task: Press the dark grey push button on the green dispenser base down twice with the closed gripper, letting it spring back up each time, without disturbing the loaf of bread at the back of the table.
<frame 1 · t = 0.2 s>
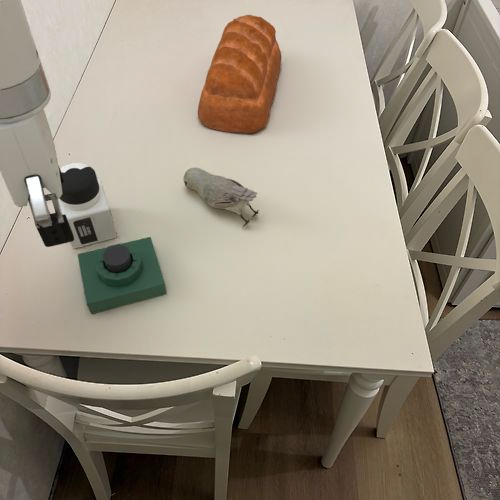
hand: (55, 212, 58), 23 cm above the table, tool pointing down, fingers open, 9 cm apart
dark grey push button: (117, 258, 75), point 6 cm above the table, slide at 0.1 cm
bread: (241, 91, 113), on the table
container: (91, 228, 86), on the table
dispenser: (123, 279, 79), on the table
decorative bird: (219, 206, 90), on the table
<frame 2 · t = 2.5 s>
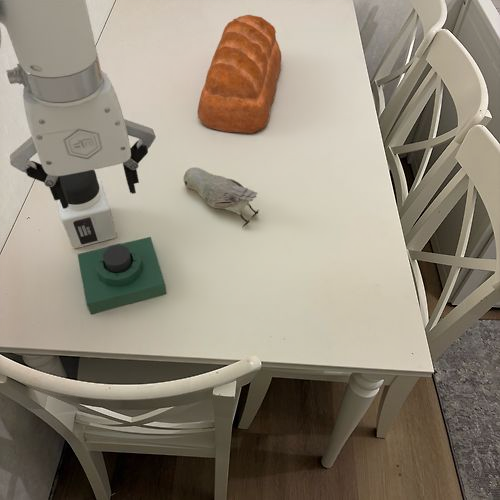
hand: (98, 193, 63), 20 cm above the table, tool pointing down, fingers open, 8 cm apart
nothing on the table moved.
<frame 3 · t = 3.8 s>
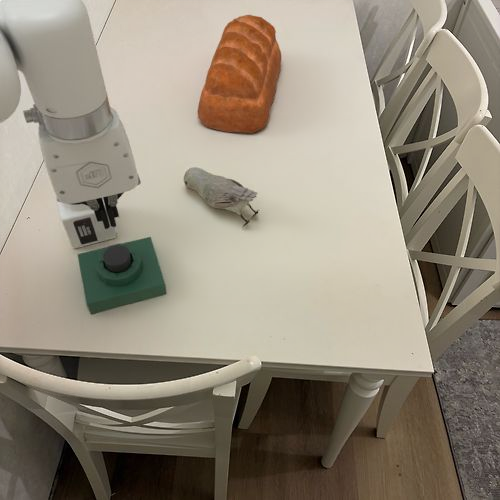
hand: (109, 220, 68), 14 cm above the table, tool pointing down, fingers closed
nothing on the table moved.
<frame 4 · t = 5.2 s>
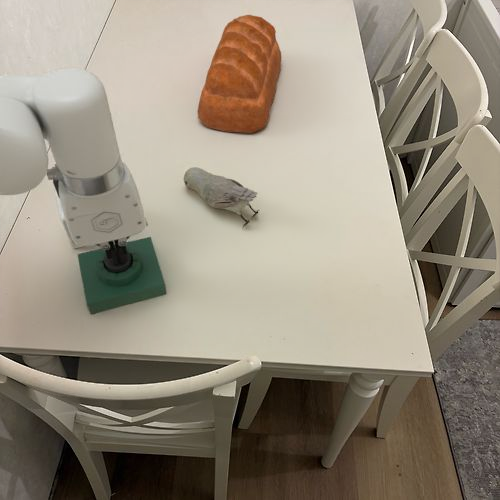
hand: (118, 257, 75), 6 cm above the table, tool pointing down, fingers closed
dark grey push button: (118, 261, 75), point 5 cm above the table, slide at -0.7 cm, touching gripper
everything else where it was.
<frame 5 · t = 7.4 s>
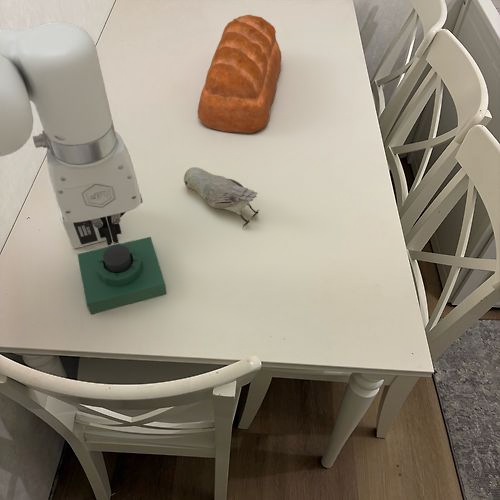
hand: (111, 236, 71), 11 cm above the table, tool pointing down, fingers closed
dark grey push button: (117, 258, 75), point 6 cm above the table, slide at 0.1 cm
everything else where it was.
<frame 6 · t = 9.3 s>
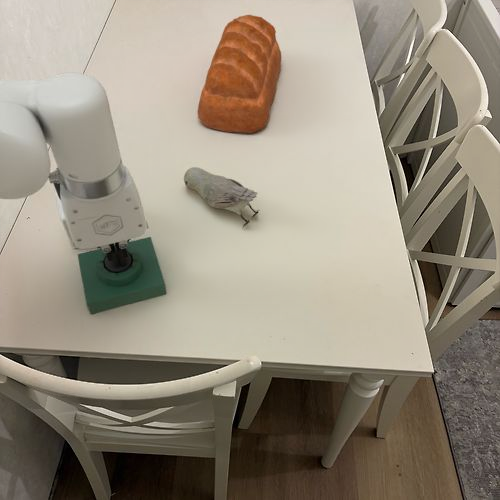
hand: (118, 259, 75), 5 cm above the table, tool pointing down, fingers closed
dark grey push button: (119, 263, 76), point 4 cm above the table, slide at -1.3 cm, touching gripper
everything else where it was.
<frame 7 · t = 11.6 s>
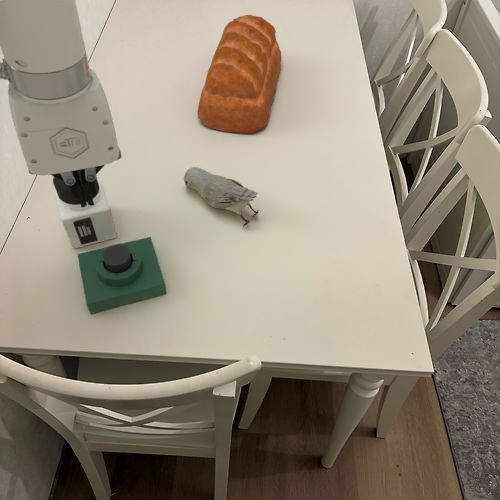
hand: (86, 198, 63), 20 cm above the table, tool pointing down, fingers closed
dark grey push button: (117, 258, 75), point 6 cm above the table, slide at 0.1 cm
everything else where it was.
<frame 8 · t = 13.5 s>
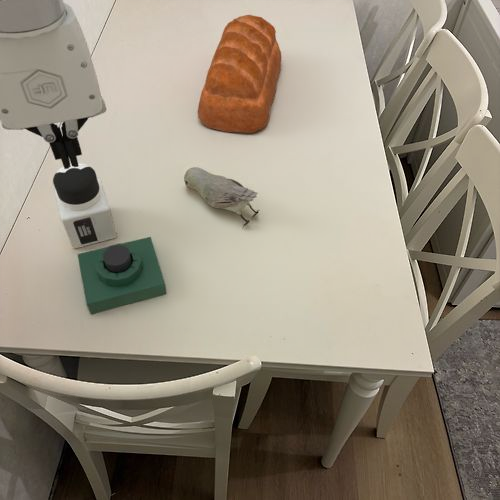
hand: (70, 160, 57), 27 cm above the table, tool pointing down, fingers closed
nothing on the table moved.
at the end: dark grey push button pushed in 1.3 cm at the most during the clip, back to where it started at the end; dark grey push button slide at 0.1 cm; bread moved 0.2 cm from its start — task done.
